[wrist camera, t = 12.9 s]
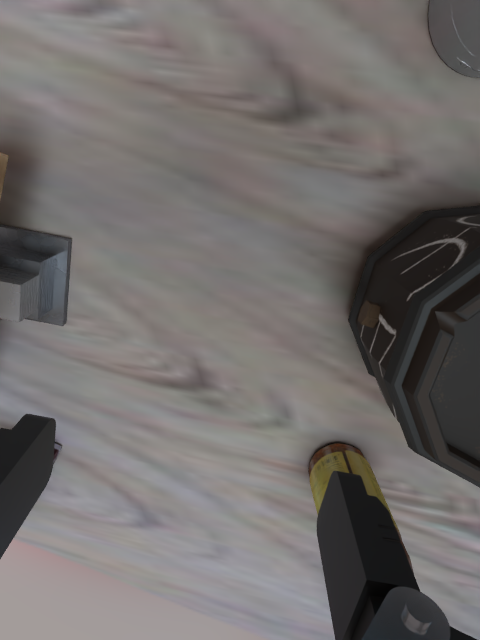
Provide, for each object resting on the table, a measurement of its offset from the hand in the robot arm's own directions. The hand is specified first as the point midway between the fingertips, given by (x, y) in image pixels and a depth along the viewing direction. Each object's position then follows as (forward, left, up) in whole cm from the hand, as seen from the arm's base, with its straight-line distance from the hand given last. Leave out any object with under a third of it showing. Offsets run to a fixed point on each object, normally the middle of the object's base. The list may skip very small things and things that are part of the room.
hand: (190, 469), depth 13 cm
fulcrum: (+5, -20, -28) cm, 35 cm away
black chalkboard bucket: (0, +19, -28) cm, 34 cm away
